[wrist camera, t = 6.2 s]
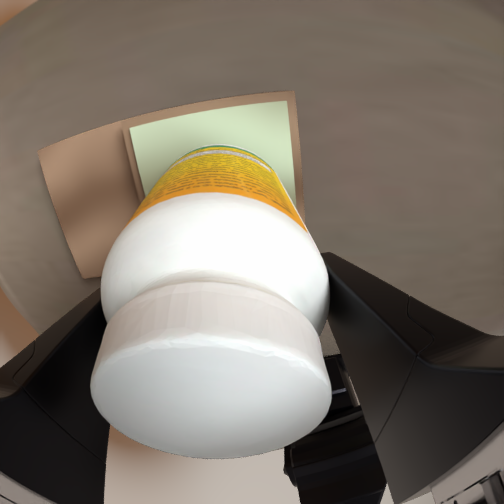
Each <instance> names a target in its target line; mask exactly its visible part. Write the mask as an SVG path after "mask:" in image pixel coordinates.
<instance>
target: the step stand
mask: <svg viewBox="0 0 504 504" xmlns="http://www.w3.org/2000/svg"><path fill="white" fill-rule="evenodd" d="M212 144H226V145H233V146H237V147H241V148H244V149H246V150H249V151H251V152H253V153H255V154H256V155H258V156H260V157H261V158H262V159H264V160H265V161H266V162H267V163H268V164H269V165H270V166H271V167H272V168H273V170H274V171H275V172H276V174H277V175H278V177H279V179H280V181H281V182H282V184H283V186H284V188H285V190H286V191H287V193H288V195H289V197H290V199H291V200H292V202H293V204H294V206H295V208H296V210H297V211H298V213H299V215H300V217H301V219H302V221H303V222H304V224H305V214H304V196H303V181H302V167H301V154H300V142H299V131H298V121H297V111H296V101H295V92H294V91H276V92H266V93H256V94H248V95H240V96H233V97H226V98H219V99H213V100H207V101H202V102H196V103H191V104H186V105H181V106H176V107H172V108H167V109H163V110H159V111H155V112H151V113H147V114H143V115H139V116H135V117H132V118H128V119H124V120H121V121H118V122H114V123H111V124H108V125H105V126H101V127H98V128H95V129H92V130H89V131H86V132H84V133H81V134H78V135H75V136H72V137H70V138H67V139H64V140H62V141H59V142H57V143H54V144H52V145H49V146H47V147H45V148H42V149H40V150H38V151H37V152H38V156H39V159H40V163H41V167H42V170H43V174H44V177H45V181H46V184H47V187H48V190H49V193H50V196H51V199H52V202H53V205H54V208H55V211H56V214H57V217H58V220H59V222H60V225H61V228H62V230H63V233H64V235H65V238H66V240H67V243H68V245H69V248H70V250H71V253H72V255H73V257H74V260H75V262H76V264H77V266H78V269H79V271H80V273H81V275H82V278H83V279H86V278H93V277H100V276H102V272H103V268H104V265H105V261H106V259H107V256H108V254H109V252H110V250H111V248H112V246H113V244H114V242H115V240H116V239H117V237H118V236H119V234H120V233H121V231H122V230H123V229H124V227H125V226H126V224H127V223H128V221H129V220H130V219H131V217H132V216H133V214H134V213H135V212H136V210H137V209H138V207H139V206H140V204H141V203H142V202H143V200H144V199H145V198H146V196H147V195H148V194H149V192H150V191H151V190H152V188H153V187H154V186H155V184H156V183H157V182H158V180H159V179H160V178H161V177H162V175H163V174H164V173H165V172H166V171H167V169H168V168H169V167H170V166H171V165H172V164H173V163H174V162H175V161H176V160H177V159H178V158H180V157H181V156H183V155H184V154H186V153H187V152H189V151H191V150H193V149H196V148H199V147H202V146H206V145H212Z"/></svg>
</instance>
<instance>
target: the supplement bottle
mask: <svg viewBox="0 0 504 504" xmlns="http://www.w3.org/2000/svg"><path fill="white" fill-rule="evenodd" d="M101 302H102V308H103V312H104V316H105V318H106V321H107V326H106V329H105V332H104V335H103V339H102V343H101V346H100V349H99V352H98V356H97V359H96V362H95V365H94V369H93V372H92V376H91V383H90V388H91V396H92V399H93V401H94V404H95V406H96V407H97V409H98V411H99V412H100V414H101V415H102V416H103V417H104V418H105V419H106V420H107V421H108V422H109V423H110V424H111V425H112V426H113V427H114V428H115V429H117V430H118V431H120V432H121V433H122V434H124V435H126V436H127V437H129V438H131V439H133V440H135V441H137V442H139V443H141V444H143V445H146V446H148V447H151V448H154V449H157V450H160V451H163V452H167V453H171V454H176V455H181V456H186V457H192V458H203V459H228V458H240V457H247V456H252V455H259V454H263V453H267V452H270V451H273V450H277V449H280V448H282V447H285V446H287V445H289V444H291V443H293V442H295V441H297V440H299V439H300V438H302V437H304V436H305V435H307V434H308V433H310V432H311V431H312V430H313V429H315V428H316V427H317V426H318V425H319V424H320V423H321V422H322V420H323V419H324V418H325V416H326V415H327V413H328V410H329V407H330V404H331V399H332V391H331V383H330V379H329V376H328V373H327V369H326V366H325V362H324V359H323V355H322V348H321V343H320V340H319V336H320V335H321V333H322V330H323V328H324V325H325V323H326V320H327V316H328V312H329V306H330V284H329V277H328V273H327V269H326V266H325V264H324V261H323V259H322V257H321V255H320V253H319V251H318V249H317V247H316V245H315V243H314V241H313V239H312V237H311V235H310V233H309V232H308V230H307V228H306V226H305V224H304V222H303V221H302V219H301V217H300V215H299V213H298V211H297V210H296V208H295V206H294V204H293V202H292V200H291V199H290V197H289V195H288V193H287V191H286V190H285V188H284V186H283V184H282V182H281V181H280V179H279V177H278V175H277V174H276V172H275V171H274V170H273V168H272V167H271V166H270V165H269V164H268V163H267V162H266V161H265V160H264V159H262V158H261V157H260V156H258V155H256V154H255V153H253V152H251V151H249V150H246V149H244V148H241V147H237V146H233V145H226V144H212V145H206V146H202V147H199V148H196V149H193V150H191V151H189V152H187V153H186V154H184V155H183V156H181V157H180V158H178V159H177V160H176V161H175V162H174V163H173V164H172V165H171V166H170V167H169V168H168V169H167V171H166V172H165V173H164V174H163V175H162V177H161V178H160V179H159V180H158V182H157V183H156V184H155V186H154V187H153V188H152V190H151V191H150V192H149V194H148V195H147V196H146V198H145V199H144V200H143V202H142V203H141V204H140V206H139V207H138V209H137V210H136V212H135V213H134V214H133V216H132V217H131V219H130V220H129V221H128V223H127V224H126V226H125V227H124V229H123V230H122V231H121V233H120V234H119V236H118V237H117V239H116V240H115V242H114V244H113V246H112V248H111V250H110V252H109V254H108V256H107V259H106V261H105V265H104V268H103V272H102V278H101Z"/></svg>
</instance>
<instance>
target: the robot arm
mask: <svg viewBox="0 0 504 504" xmlns="http://www.w3.org/2000/svg"><path fill="white" fill-rule="evenodd" d="M320 255H321V257H322V259H323V261H324V264H325V266H326V269H327V273H328V277H329V284H330V306H329V312H328V316H327V319H328V322H329V325H330V328H331V330H332V333H333V335H334V338H335V340H336V343H337V345H338V348H339V350H340V353H341V354H339V355H334V356H330V357H325V358H323V359H324V362H325V366H326V369H327V373H328V376H329V379H330V383H331V391H332V399H331V404H330V407H329V410H328V413H327V415H326V416H325V418H324V419H323V420H322V422H321V423H320V424H319V425H318V426H317V427H316V428H315V429H313V430H312V431H311V432H310V433H308V434H307V435H305V436H304V437H302V438H300V439H299V440H297V441H295V442H293V443H291V444H289V445H287V446H285V447H284V461H285V464H284V469H283V470H284V474H286V475H287V476H289V478H290V481H291V482H292V484H293V485H294V486H295V487H297V488H298V491H299V497H300V503H301V504H380V502H381V499H382V496H383V493H384V490H385V487H386V484H387V483H388V486H389V489H390V492H391V496H392V499H393V502H394V504H402V503H405V502H407V501H410V500H412V499H414V498H417V497H419V496H421V495H424V494H426V493H428V492H430V491H431V492H432V495H433V498H434V501H435V504H504V336H495V335H490V334H486V333H484V332H481V331H479V330H477V329H475V328H473V327H471V326H469V325H466V324H464V323H462V322H460V321H458V320H456V319H454V318H452V317H449V316H447V315H445V314H443V313H441V312H439V311H437V310H435V309H433V308H431V307H430V306H428V305H426V304H424V303H422V302H420V301H419V300H417V299H415V298H413V297H412V296H409V295H408V294H406V293H404V292H403V291H401V290H399V289H397V288H395V287H394V286H392V285H390V284H388V283H386V282H385V281H383V280H381V279H379V278H377V277H376V276H374V275H372V274H370V273H368V272H366V271H365V270H363V269H361V268H359V267H357V266H355V265H354V264H352V263H350V262H348V261H346V260H344V259H342V258H341V257H339V256H337V255H335V254H333V253H331V252H326V253H320ZM106 326H107V321H106V318H105V316H104V312H103V308H102V302H101V287H100V288H99V289H98V290H96V291H95V292H94V293H92V294H91V295H90V296H88V297H87V298H86V299H85V300H83V301H82V302H81V303H79V304H78V305H77V306H76V307H74V308H73V309H72V310H71V311H69V312H68V313H67V314H66V315H64V316H63V317H62V318H61V319H59V320H58V321H57V322H56V323H54V324H53V325H52V326H51V327H50V328H48V329H47V330H46V331H45V332H44V333H42V334H41V335H40V336H39V337H38V338H36V341H35V340H34V341H33V342H32V343H30V344H29V345H28V346H27V347H26V348H24V349H23V350H22V351H21V352H20V353H18V354H17V355H16V356H15V357H13V358H12V359H11V360H10V361H8V362H7V363H6V364H5V365H3V366H2V367H1V368H0V504H104V487H105V471H106V458H107V446H108V438H109V429H110V423H109V422H108V421H107V420H106V419H105V418H104V417H103V416H102V415H101V414H100V412H99V411H98V409H97V407H96V406H95V404H94V401H93V399H92V396H91V388H90V383H91V376H92V372H93V369H94V365H95V362H96V359H97V356H98V352H99V349H100V346H101V343H102V339H103V335H104V332H105V329H106ZM349 376H350V379H351V381H352V384H353V386H354V389H355V392H356V394H357V397H358V400H359V402H360V405H358V402H357V399H356V397H355V394H354V391H353V388H352V385H351V382H350V379H349Z"/></svg>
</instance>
